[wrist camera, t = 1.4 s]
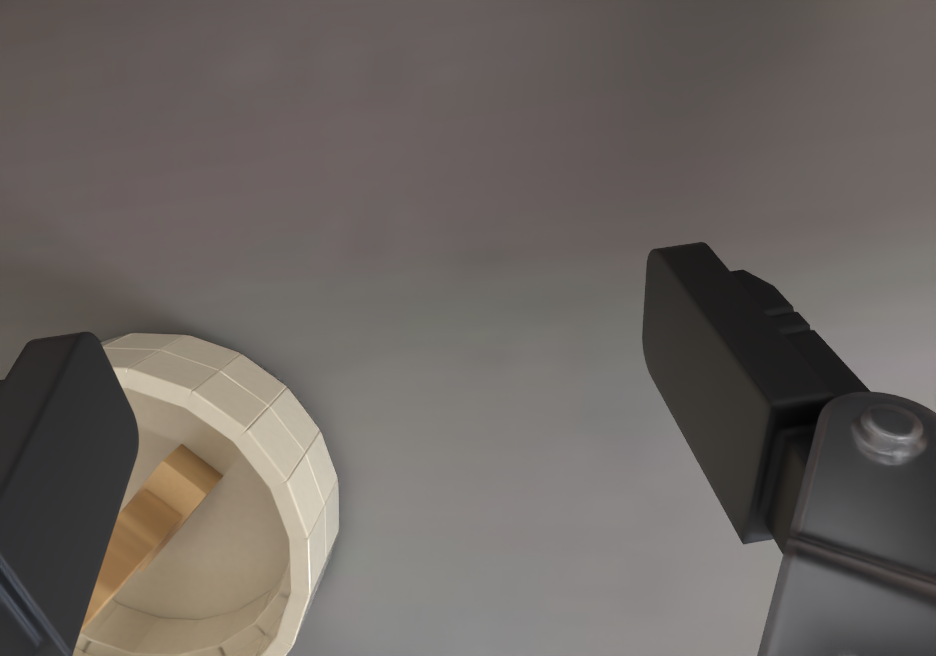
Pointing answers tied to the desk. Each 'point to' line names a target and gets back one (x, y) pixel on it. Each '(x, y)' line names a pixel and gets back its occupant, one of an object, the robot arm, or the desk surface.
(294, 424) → the bowl
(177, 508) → the wooden t-shaped block
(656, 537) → the desk surface
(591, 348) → the desk surface
